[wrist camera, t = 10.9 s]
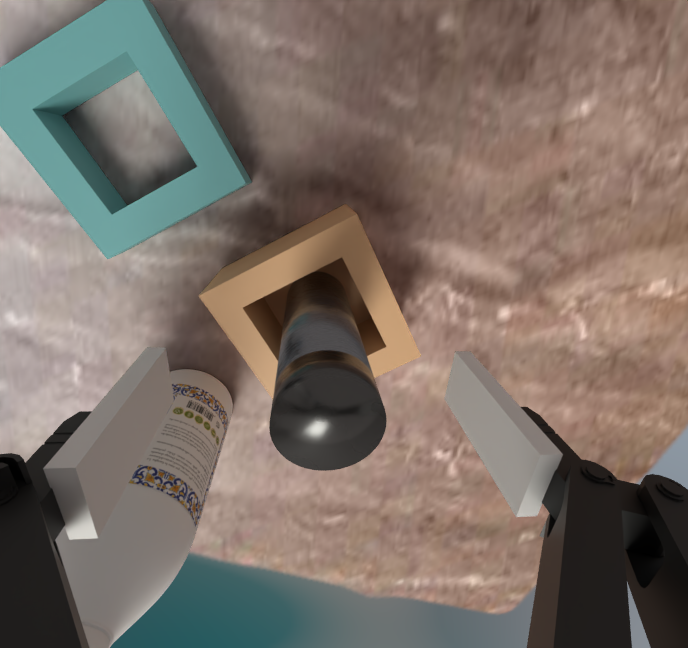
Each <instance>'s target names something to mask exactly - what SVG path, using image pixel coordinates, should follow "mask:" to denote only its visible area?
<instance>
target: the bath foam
mask: <svg viewBox="0 0 688 648" xmlns="http://www.w3.org/2000/svg"><path fill="white" fill-rule="evenodd" d="M170 377H171V384H172V391H173V397H174V401H173V403H172V405H171V407H170V408H169V410H168V412H167V414H166V416H165V417H164V419H163V421H162V423H161V425H160V427H159V428H158V430H157V432H156V434H155V436H154V437H153V439H152V441H151V443H150V445H149V446H148V448H147V450H146V452H145V454H144V456H143V457H142V459H141V461H140V463H139V465H138V466H137V468H136V470H135V472H134V474H133V476H132V477H131V479H130V481H129V483H128V485H127V486H126V488H125V490H124V492H123V494H122V496H121V497H120V499H119V501H118V503H117V505H116V506H115V508H114V510H113V512H112V514H111V516H110V517H109V519H108V521H107V523H106V525H105V526H104V528H103V530H102V532H101V534H100V536H99V537H98V538H93V539H73V540H69V537H68V535H67V532H66V529H65V526H64V527H63V529H62V531H61V532H60V534H59V535H58V537H57V538H56V540H55V541H56V543H57V546H58V549H59V552H60V555H61V558H62V561H63V565H64V568H65V571H66V574H67V577H68V581H69V584H70V587H71V590H72V593H73V597H74V600H75V603H76V606H77V609H78V613H79V616H80V619H81V622H82V625H83V629H84V632H85V635H86V638H87V641H88V645H89V648H110V647H111V645H112V644H113V643H114V642H115V641H116V640H117V639H118V638H119V637H120V636H121V635H122V634H123V633H124V632H125V631H126V630H127V629H128V628H129V627H131V626H132V625H133V624H134V623H135V622H136V621H137V620H138V619H139V618H140V617H141V616H142V615H143V614H144V613H145V612H146V611H147V610H148V609H149V608H150V607H151V606H152V605H153V604H154V603H155V602H156V601H157V600H158V599H159V598H160V597H161V595H162V594H163V593H164V592H165V590H166V589H167V588H168V587H169V585H170V584H171V583H172V581H173V580H174V578H175V577H176V575H177V573H178V572H179V570H180V569H181V567H182V565H183V563H184V561H185V559H186V557H187V555H188V553H189V551H190V548H191V546H192V543H193V540H194V537H195V534H196V531H197V528H198V524H199V521H200V518H201V515H202V511H203V508H204V505H205V502H206V498H207V495H208V492H209V488H210V485H211V482H212V479H213V475H214V472H215V469H216V465H217V462H218V459H219V456H220V452H221V449H222V446H223V442H224V439H225V436H226V433H227V429H228V426H229V423H230V419H231V416H232V411H233V403H232V399H231V396H230V393H229V392H228V390H227V388H226V387H225V386H224V385H223V384H222V383H221V382H220V381H219V380H218V379H216V378H215V377H213V376H211V375H209V374H207V373H205V372H202V371H198V370H192V369H180V370H174V371H171V372H170Z"/></svg>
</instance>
